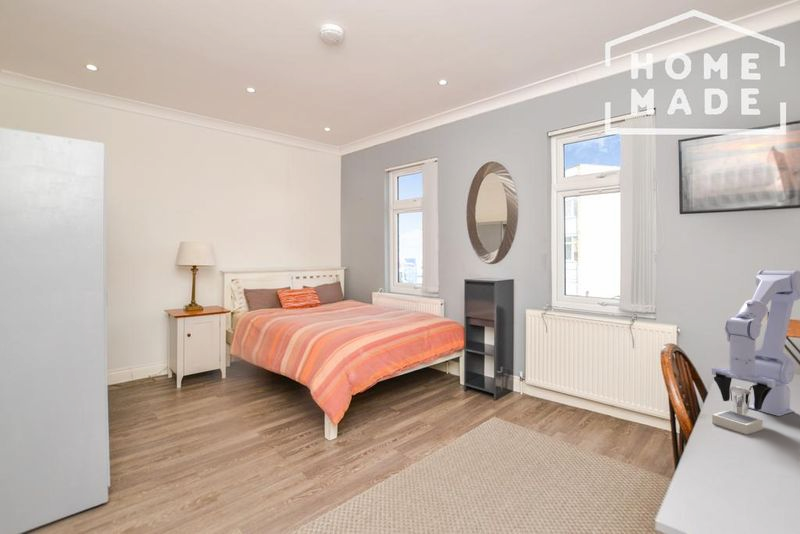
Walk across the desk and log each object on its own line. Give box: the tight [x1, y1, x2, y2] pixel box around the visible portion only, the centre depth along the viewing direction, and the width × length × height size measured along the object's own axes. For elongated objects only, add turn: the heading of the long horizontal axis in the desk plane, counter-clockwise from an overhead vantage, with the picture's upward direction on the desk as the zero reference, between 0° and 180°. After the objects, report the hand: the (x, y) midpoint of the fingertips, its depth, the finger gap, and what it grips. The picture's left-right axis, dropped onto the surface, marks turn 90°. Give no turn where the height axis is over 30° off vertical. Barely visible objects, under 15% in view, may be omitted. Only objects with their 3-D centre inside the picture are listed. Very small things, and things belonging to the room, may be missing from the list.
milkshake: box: [730, 384, 753, 416], centre depth 114 cm, size 4×5×10 cm
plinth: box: [711, 409, 764, 435], centre depth 108 cm, size 8×8×3 cm
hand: (741, 404), depth 114 cm, fingers open, 7 cm apart
